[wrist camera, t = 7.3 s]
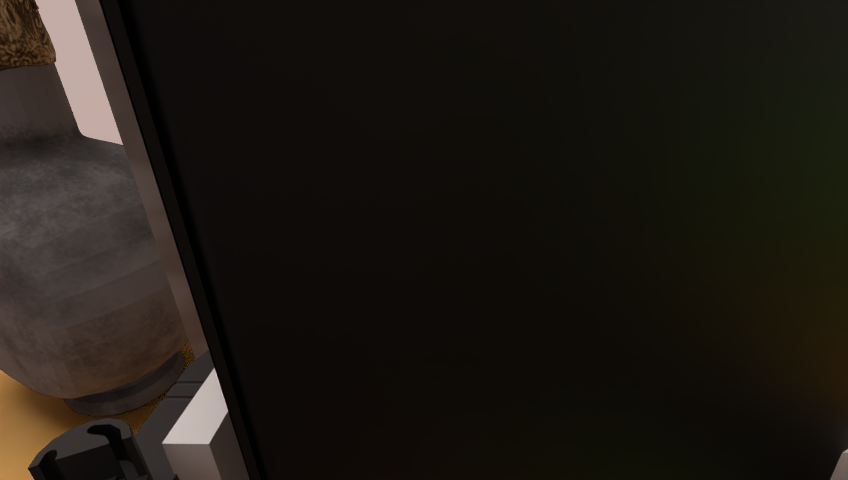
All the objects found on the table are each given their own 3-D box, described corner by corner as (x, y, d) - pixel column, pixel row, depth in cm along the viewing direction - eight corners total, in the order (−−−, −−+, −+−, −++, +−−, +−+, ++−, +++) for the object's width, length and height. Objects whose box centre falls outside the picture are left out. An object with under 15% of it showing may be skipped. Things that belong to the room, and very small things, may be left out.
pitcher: (124, 480, 26) (-231, -259, 13) (-41, 386, 34) (-361, -129, 21) (265, 360, 35) (134, -156, 22) (107, 307, 43) (-56, -91, 30)
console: (625, 288, 40) (716, -347, 24) (760, 508, 22) (1463, -1397, 6) (328, 293, 43) (231, -286, 26) (233, 495, 25) (-256, -928, 8)
